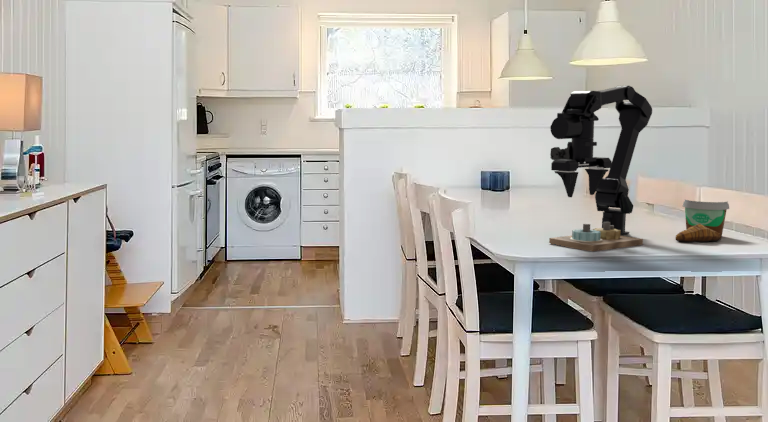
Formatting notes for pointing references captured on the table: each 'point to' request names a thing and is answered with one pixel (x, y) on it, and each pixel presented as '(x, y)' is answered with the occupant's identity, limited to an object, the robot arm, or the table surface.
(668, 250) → the table surface
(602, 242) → the gear board
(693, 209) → the food container
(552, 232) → the table surface
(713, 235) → the croissant
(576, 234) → the teal gear
